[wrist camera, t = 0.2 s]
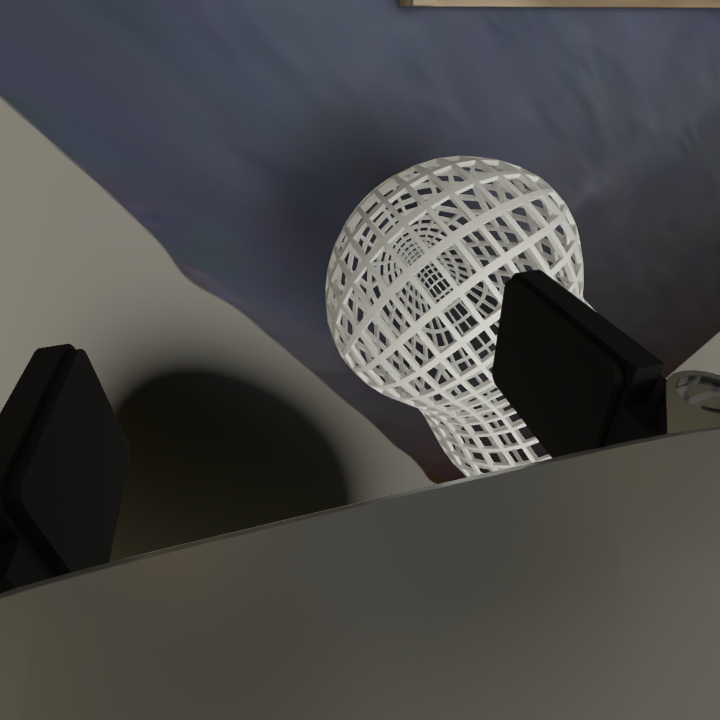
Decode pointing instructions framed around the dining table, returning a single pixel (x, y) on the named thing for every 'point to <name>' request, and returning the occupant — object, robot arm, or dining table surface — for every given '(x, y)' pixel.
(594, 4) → the track
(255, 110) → the dining table surface
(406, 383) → the heart
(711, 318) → the dining table surface
